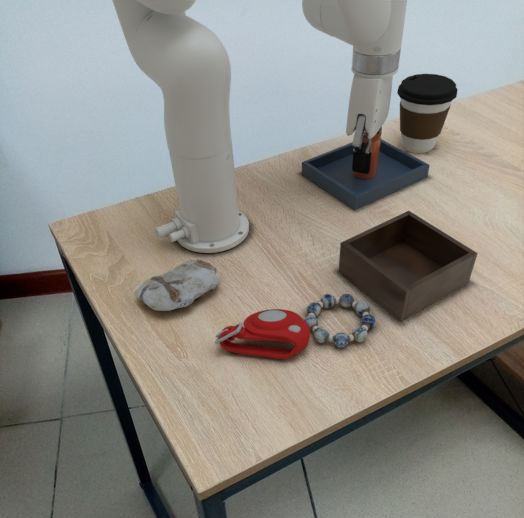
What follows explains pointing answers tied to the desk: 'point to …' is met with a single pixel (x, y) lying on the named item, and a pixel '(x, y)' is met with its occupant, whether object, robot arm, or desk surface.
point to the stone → (178, 286)
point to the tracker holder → (267, 333)
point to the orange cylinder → (374, 157)
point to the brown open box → (406, 264)
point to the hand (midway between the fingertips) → (365, 164)
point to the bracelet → (340, 338)
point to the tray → (364, 190)
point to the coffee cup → (424, 109)
